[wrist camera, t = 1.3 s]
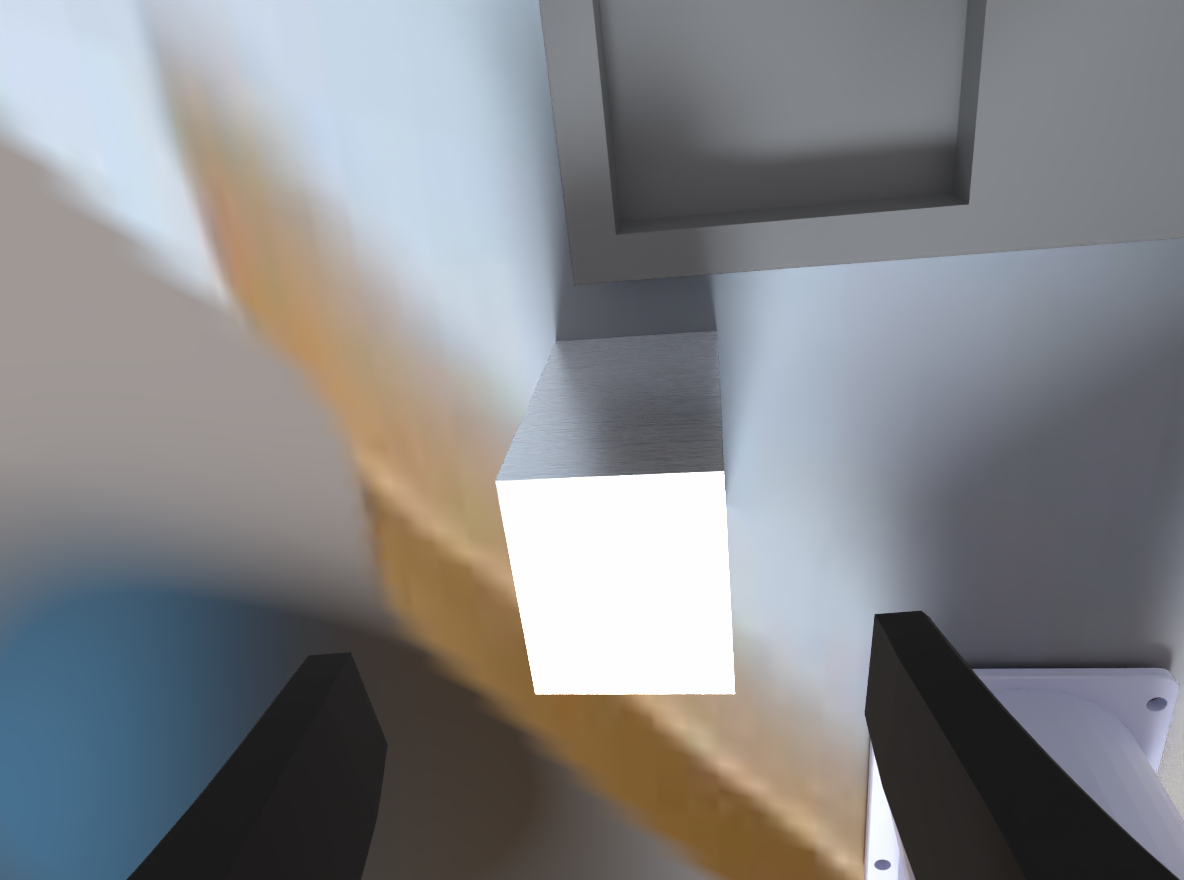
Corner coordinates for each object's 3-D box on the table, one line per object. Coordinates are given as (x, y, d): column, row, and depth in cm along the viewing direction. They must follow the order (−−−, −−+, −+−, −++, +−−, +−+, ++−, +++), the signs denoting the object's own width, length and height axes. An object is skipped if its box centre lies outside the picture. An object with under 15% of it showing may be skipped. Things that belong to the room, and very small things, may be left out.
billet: (725, 505, 23) (734, 693, 16) (579, 511, 23) (535, 694, 17) (716, 330, 20) (724, 471, 14) (555, 341, 21) (495, 480, 15)
